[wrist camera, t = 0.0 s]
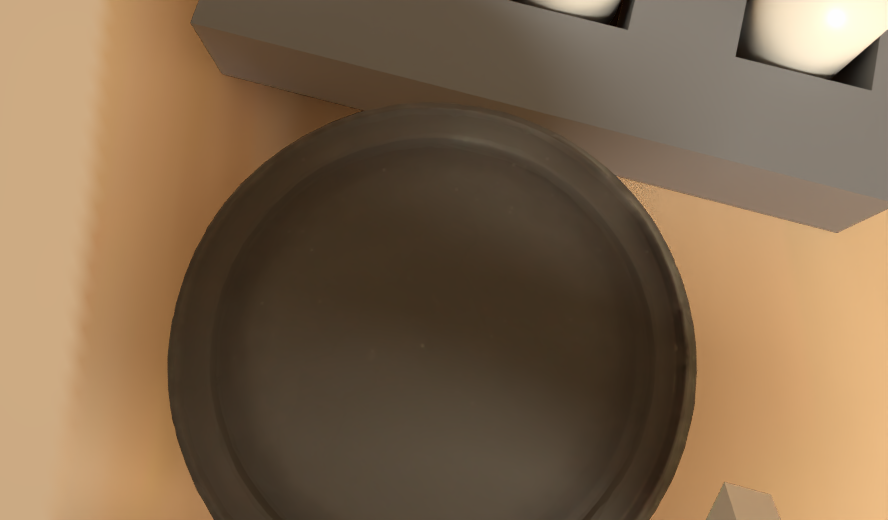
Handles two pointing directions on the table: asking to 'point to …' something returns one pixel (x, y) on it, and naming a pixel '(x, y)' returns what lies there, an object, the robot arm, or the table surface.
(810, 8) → the end button
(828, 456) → the table surface
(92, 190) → the table surface
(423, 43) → the button board
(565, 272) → the coffee can
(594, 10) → the middle button
